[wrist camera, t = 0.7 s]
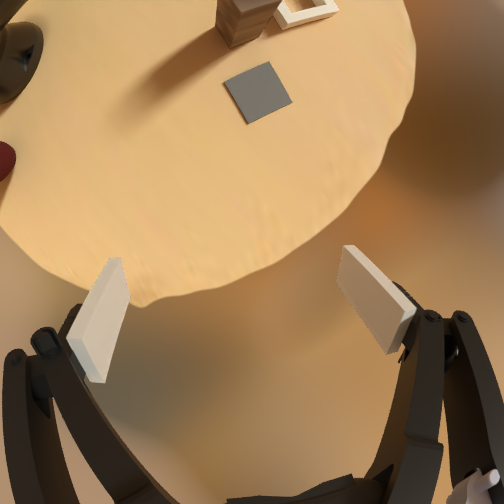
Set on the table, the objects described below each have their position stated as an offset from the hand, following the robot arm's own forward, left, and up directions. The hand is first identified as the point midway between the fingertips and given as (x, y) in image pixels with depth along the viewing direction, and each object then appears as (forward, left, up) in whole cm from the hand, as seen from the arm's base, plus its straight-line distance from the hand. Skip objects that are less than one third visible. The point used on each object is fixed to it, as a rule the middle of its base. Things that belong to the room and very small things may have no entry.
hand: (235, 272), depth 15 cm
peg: (-19, +13, -25) cm, 34 cm away
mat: (-9, +11, -25) cm, 29 cm away
